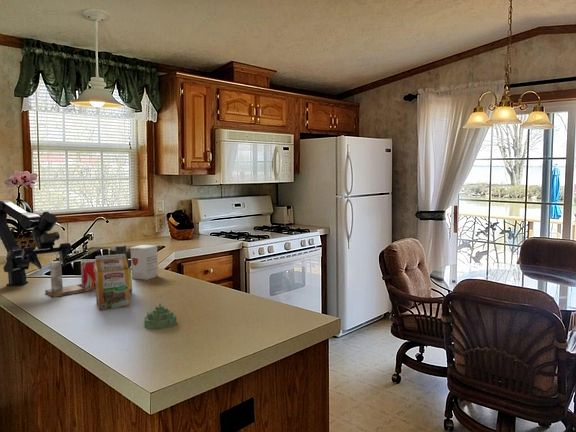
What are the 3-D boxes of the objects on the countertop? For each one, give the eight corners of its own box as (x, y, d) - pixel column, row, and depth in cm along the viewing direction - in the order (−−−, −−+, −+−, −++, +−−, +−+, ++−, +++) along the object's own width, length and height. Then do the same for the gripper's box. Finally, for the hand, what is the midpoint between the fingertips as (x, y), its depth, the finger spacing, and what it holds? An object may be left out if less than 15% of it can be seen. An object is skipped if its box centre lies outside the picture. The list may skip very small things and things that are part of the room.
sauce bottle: (135, 292, 197) (133, 244, 196) (125, 295, 191) (123, 247, 190) (122, 291, 200) (120, 244, 198) (112, 294, 194) (110, 246, 192)
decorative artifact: (142, 322, 157) (146, 331, 148) (141, 301, 156) (145, 309, 147) (173, 318, 161) (179, 327, 152) (172, 298, 160) (178, 305, 151)
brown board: (54, 297, 191) (52, 264, 189) (45, 292, 198) (43, 261, 197) (107, 287, 206) (106, 257, 205) (98, 283, 213) (96, 254, 212)
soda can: (93, 290, 202) (91, 262, 201) (78, 289, 203) (76, 262, 202) (102, 286, 209) (101, 259, 208) (88, 285, 210) (87, 259, 209)
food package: (99, 310, 171) (96, 258, 169) (96, 304, 180) (93, 254, 179) (130, 306, 176) (127, 255, 174) (125, 300, 185) (123, 251, 183)
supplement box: (130, 278, 224) (129, 247, 222) (143, 274, 232) (142, 244, 230) (146, 280, 220) (145, 248, 219) (158, 276, 228) (157, 245, 227)
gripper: (21, 228, 194) (32, 257, 187) (68, 224, 207) (80, 251, 200) (16, 245, 200) (26, 275, 193) (62, 240, 213) (74, 268, 206)
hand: (52, 266), depth 198 cm, fingers open, 9 cm apart
